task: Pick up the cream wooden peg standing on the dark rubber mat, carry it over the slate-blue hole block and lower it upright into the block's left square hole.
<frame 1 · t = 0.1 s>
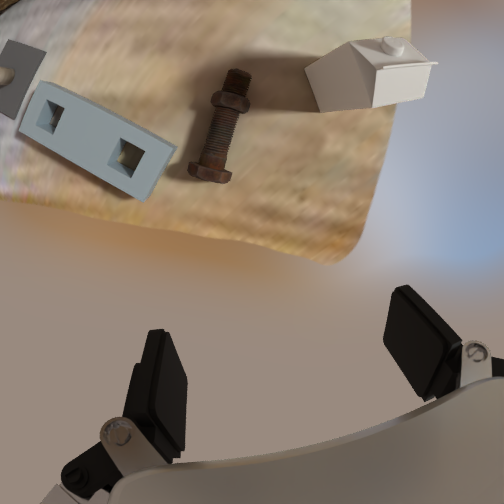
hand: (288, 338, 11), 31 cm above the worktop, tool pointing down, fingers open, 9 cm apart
milk carton: (332, 85, 34), on the worktop
hole block: (96, 134, 33), on the worktop
bolt: (224, 124, 36), on the worktop
peg: (9, 76, 25), resting on mat
mat: (10, 76, 25), on the worktop
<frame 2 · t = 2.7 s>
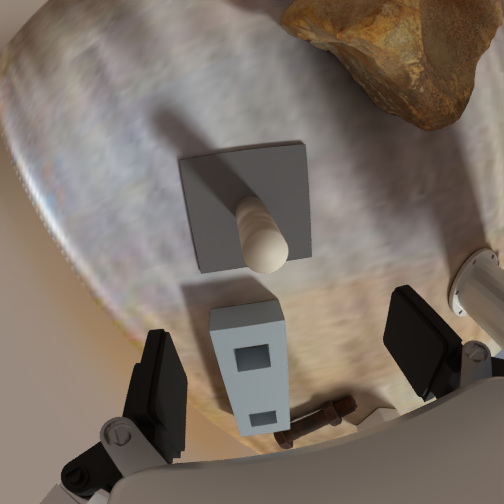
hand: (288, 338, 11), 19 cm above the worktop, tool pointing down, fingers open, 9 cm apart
milk carton: (376, 416, 49), on the worktop
hole block: (255, 371, 38), on the worktop
bolt: (313, 410, 44), on the worktop
peg: (250, 211, 28), resting on mat
mat: (250, 210, 28), on the worktop
rough brown rock: (380, 56, 22), on the worktop
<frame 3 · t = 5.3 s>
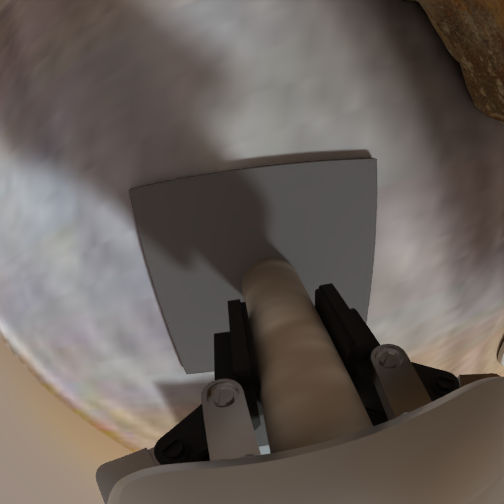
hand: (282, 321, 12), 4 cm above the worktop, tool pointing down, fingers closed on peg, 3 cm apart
hole block: (266, 458, 25), on the worktop
peg: (270, 284, 15), resting on mat, touching gripper
mat: (269, 280, 15), on the worktop
rough brown rock: (467, 27, 10), on the worktop
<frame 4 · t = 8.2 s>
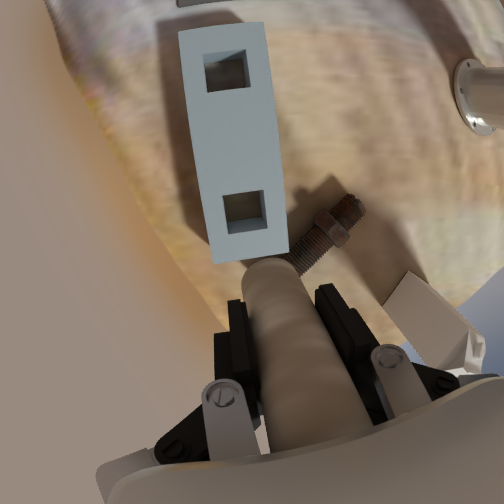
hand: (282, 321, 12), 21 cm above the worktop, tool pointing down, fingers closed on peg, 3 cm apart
milk carton: (406, 294, 40), on the worktop
hole block: (233, 139, 28), on the worktop
bolt: (306, 239, 34), on the worktop
peg: (270, 283, 15), point 18 cm above the worktop, touching gripper
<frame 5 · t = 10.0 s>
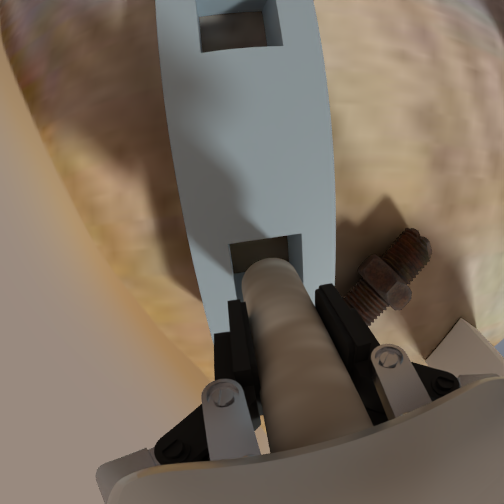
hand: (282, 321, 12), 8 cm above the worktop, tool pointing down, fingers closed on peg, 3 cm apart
milk carton: (451, 343, 29), on the worktop
hole block: (246, 140, 17), on the worktop
bolt: (346, 294, 23), on the worktop, touching hole block
peg: (270, 283, 15), point 5 cm above the worktop, touching gripper
when the fingers open (5 cm above the worktop, at t = 11.3 s): peg drops 1 cm, resting in hole block.
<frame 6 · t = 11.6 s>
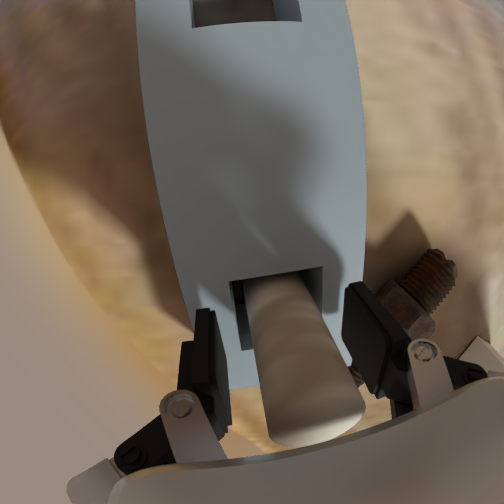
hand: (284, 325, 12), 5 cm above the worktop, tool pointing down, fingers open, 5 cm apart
milk carton: (465, 361, 25), on the worktop
hole block: (251, 144, 13), on the worktop
bolt: (360, 323, 19), on the worktop
peg: (267, 269, 16), resting in hole block
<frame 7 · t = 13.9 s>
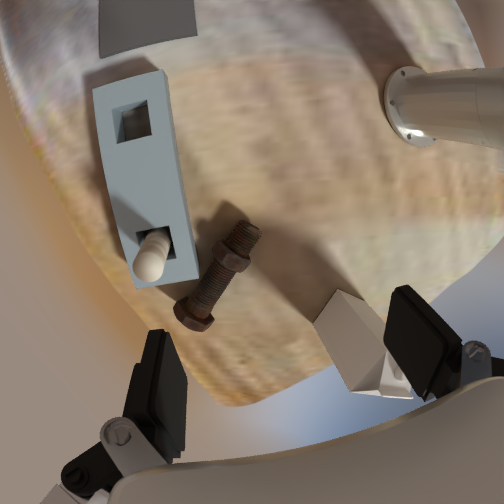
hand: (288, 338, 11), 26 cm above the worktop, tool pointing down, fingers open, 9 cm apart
milk carton: (339, 312, 44), on the worktop
hole block: (149, 179, 31), on the worktop
bolt: (218, 267, 38), on the worktop
peg: (161, 233, 34), resting in hole block
mat: (145, 8, 22), on the worktop
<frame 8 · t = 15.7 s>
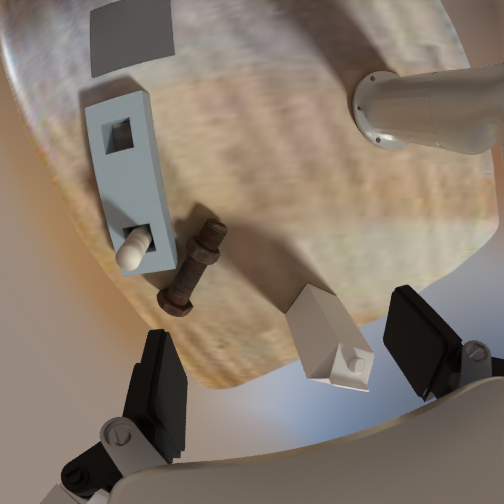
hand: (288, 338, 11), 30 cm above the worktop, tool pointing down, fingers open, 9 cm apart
milk carton: (311, 305, 48), on the worktop
hole block: (135, 183, 36), on the worktop
bolt: (195, 260, 43), on the worktop
peg: (146, 229, 39), resting in hole block
mat: (129, 30, 27), on the worktop
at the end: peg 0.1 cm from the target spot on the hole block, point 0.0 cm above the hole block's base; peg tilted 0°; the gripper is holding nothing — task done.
